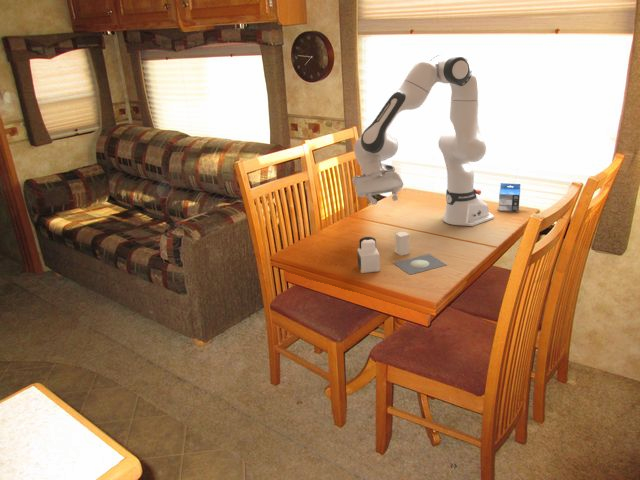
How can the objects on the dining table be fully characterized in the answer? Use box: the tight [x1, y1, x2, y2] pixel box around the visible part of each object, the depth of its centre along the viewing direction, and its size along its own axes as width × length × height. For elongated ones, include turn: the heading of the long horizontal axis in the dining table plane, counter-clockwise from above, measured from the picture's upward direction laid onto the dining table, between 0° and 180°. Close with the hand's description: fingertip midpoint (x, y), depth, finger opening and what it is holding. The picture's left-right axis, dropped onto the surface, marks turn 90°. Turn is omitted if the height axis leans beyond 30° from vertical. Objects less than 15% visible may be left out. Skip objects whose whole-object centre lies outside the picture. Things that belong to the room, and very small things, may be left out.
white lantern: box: [356, 236, 381, 274], centre depth 195 cm, size 7×7×12 cm
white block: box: [394, 231, 411, 256], centre depth 207 cm, size 4×4×8 cm
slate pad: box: [393, 253, 448, 275], centre depth 197 cm, size 16×12×1 cm
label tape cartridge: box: [497, 182, 521, 213], centre depth 242 cm, size 9×4×12 cm, turn 67°
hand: (385, 201), depth 212 cm, fingers open, 8 cm apart
